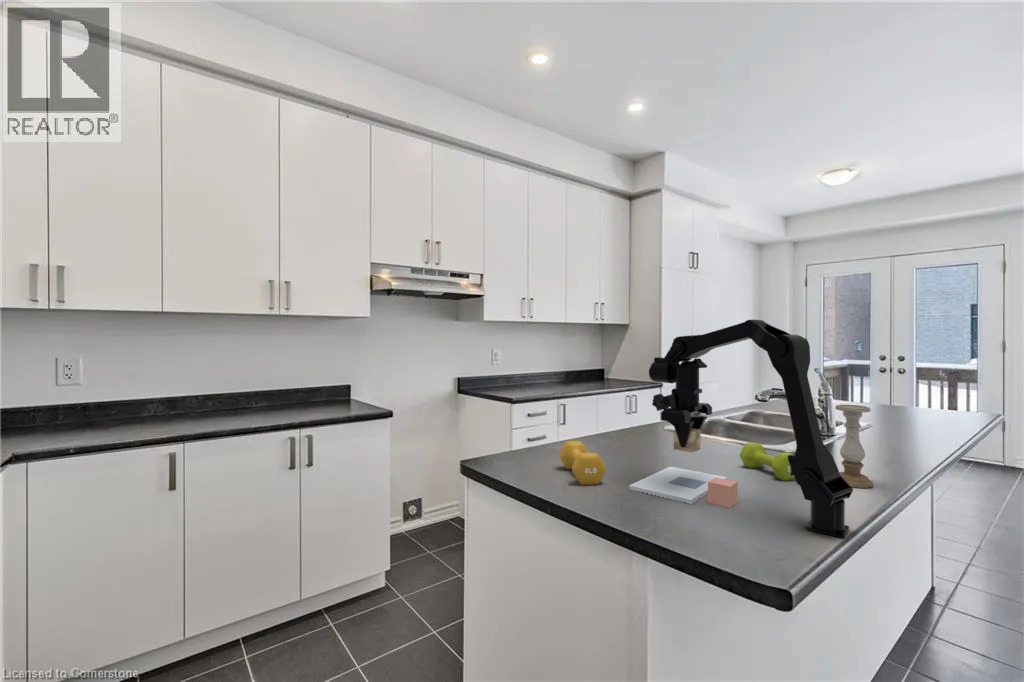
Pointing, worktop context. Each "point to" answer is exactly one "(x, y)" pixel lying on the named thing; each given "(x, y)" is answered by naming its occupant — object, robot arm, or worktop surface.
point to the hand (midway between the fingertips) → (687, 445)
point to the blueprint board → (676, 484)
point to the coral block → (722, 492)
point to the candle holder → (853, 447)
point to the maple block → (689, 441)
